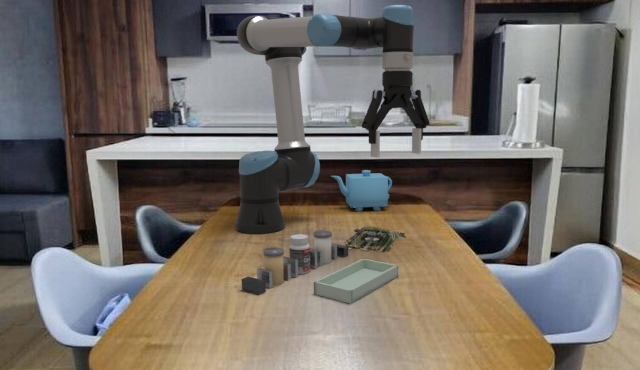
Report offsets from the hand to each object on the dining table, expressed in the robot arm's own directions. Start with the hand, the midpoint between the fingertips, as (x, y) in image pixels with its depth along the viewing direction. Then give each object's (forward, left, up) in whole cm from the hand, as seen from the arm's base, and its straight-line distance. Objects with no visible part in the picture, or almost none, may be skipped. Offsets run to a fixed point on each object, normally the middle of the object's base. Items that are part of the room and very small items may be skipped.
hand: (396, 155), depth 137 cm
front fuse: (-10, -37, -25) cm, 46 cm away
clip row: (-10, -28, -25) cm, 39 cm away
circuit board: (-10, +5, -26) cm, 28 cm away
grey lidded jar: (-10, -19, -25) cm, 33 cm away
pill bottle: (-10, -28, -25) cm, 39 cm away
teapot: (-35, +38, -25) cm, 57 cm away
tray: (+6, -28, -25) cm, 38 cm away
